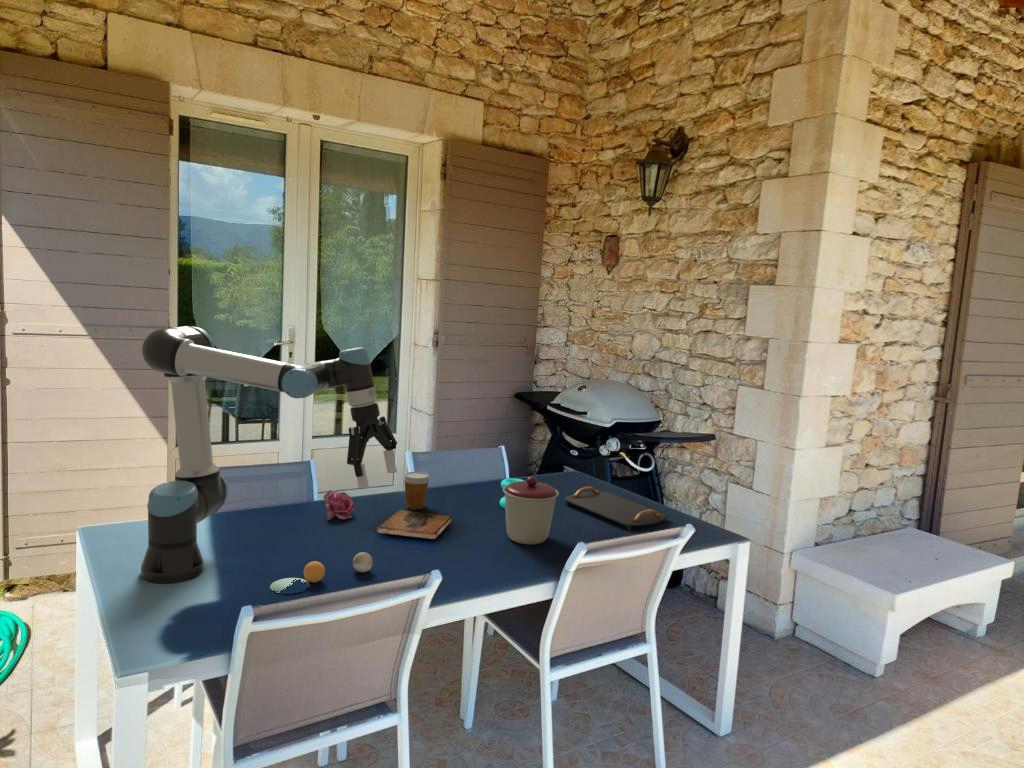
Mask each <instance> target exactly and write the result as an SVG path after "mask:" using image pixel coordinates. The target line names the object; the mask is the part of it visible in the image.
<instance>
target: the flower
mask: <svg viewBox="0 0 1024 768" xmlns="http://www.w3.org/2000/svg"><path fill="white" fill-rule="evenodd" d="M323 500H324V502H325V506H326V508H327V511H326V512H325V514H326V516H327V520H328V521H330V520H332V519H333V518H334V517H337V518H338V519H340V520H348V519H352V518H353V516H352V515H351V513H352V512H353V510H355V508H356V506H355V503H354V502H353V499H352V498H351V497H350V495H349V494H347V493H346V492H345V491H342V492H338V491H333V490H332V489H330V490H328V491H326V493H324V495H323Z"/></svg>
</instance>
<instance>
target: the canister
mask: <svg viewBox="0 0 1024 768" xmlns="http://www.w3.org/2000/svg"><path fill="white" fill-rule="evenodd" d="M502 491H503V493H504V497H505V509H504V511H505V526H506V527H505V529H506V533H507V536H508V538H509V539H510V540H512V541H513V542H516V543H517V544H520V545H521V544H522V545H531V546H532V545H539V544H542V543H543V542H545V541H546V540H547V539H548V537H549V534H550V531H551V526H552V521H553V517H554V511H555V507H556V501H557V497H558V496H559V494H560V493H559V491H558V490H557V489H555V488H554V487H553V486H552V485H551V484H550V485H549V484H547V483H544V482H541V481H538V480H537V478H536V477H535V476H528V477H527V478H526V479H525V480H524V481H517V482H513V483H510V484H509V485H506V486H505V487H504V488H502Z"/></svg>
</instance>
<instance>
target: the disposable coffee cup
mask: <svg viewBox="0 0 1024 768" xmlns="http://www.w3.org/2000/svg"><path fill="white" fill-rule="evenodd" d="M429 475H430V474H428V473H426V472H421V471H409V472H406V473H404V476H403V477H402V479H403V482H404V493H405V495H404V496H405V505H406V507H405V508H406V509H408V508H409V510H414V511H415V510H416V509H419V510H422V509H421V508H423V507H424V508H425V502H426V497H427V493H428V492H427V491H428V485H429V483H430V480H431V477H430V476H429ZM424 508H423V509H424ZM416 511H417V510H416Z"/></svg>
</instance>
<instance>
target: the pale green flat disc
mask: <svg viewBox="0 0 1024 768" xmlns="http://www.w3.org/2000/svg"><path fill="white" fill-rule="evenodd" d="M295 579H296V580H299V579H300V580H301V582H303V581H304V582H306V583H307V584H308V585H309V583H310V582H309V581H307V580H306V579H303V578H299V577H286V578H285V577H284V578H281V579H277V580H276V581H273V582H272V583H271V584H270V585H269V590H270V589H271V590H272V591H274V590H275V592H276V591H278V592H276V593H280V591H281V590H283V589H284V588H285V589H286V587H287V586H290V585H292V584H293V583H291V582H293V580H295ZM296 580H295V581H296ZM295 581H294V582H295ZM304 582H303V583H304ZM289 584H290V585H289ZM309 586H310V587H311V584H310V585H309ZM285 589H284V590H285ZM271 590H270V591H271ZM272 591H271V592H272ZM276 593H275V594H276Z"/></svg>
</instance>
